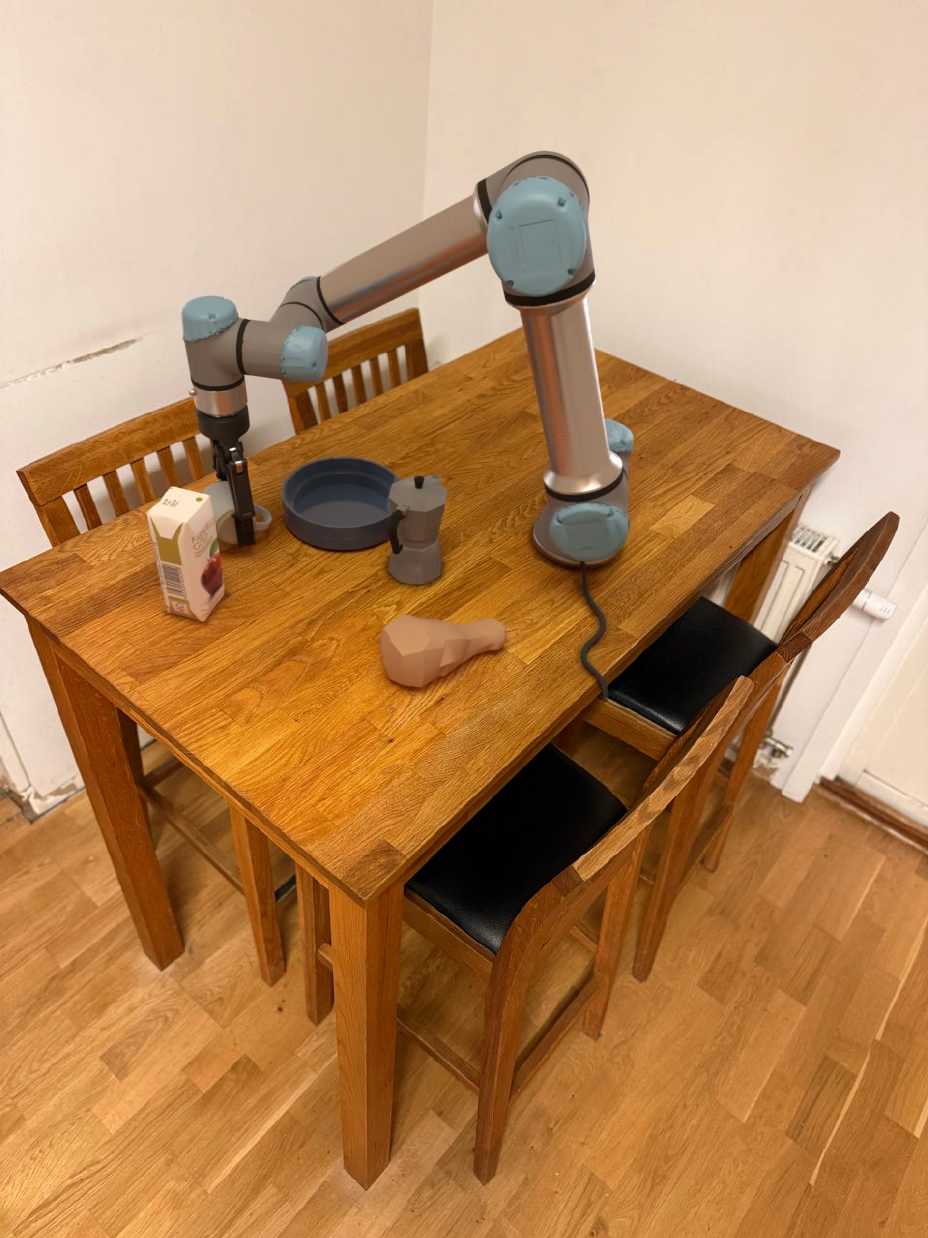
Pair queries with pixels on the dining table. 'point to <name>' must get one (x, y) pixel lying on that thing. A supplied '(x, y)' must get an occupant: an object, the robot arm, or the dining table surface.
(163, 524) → the juice carton
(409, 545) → the coffeepot
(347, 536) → the bowl
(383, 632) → the raw chicken drumstick
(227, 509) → the ceramic mug
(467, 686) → the dining table surface
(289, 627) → the dining table surface
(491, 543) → the dining table surface
